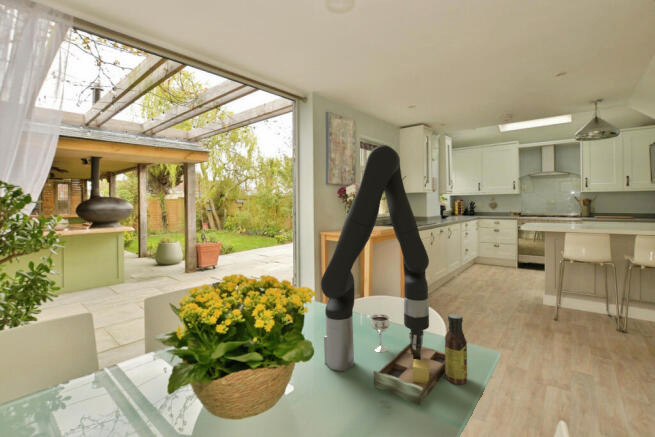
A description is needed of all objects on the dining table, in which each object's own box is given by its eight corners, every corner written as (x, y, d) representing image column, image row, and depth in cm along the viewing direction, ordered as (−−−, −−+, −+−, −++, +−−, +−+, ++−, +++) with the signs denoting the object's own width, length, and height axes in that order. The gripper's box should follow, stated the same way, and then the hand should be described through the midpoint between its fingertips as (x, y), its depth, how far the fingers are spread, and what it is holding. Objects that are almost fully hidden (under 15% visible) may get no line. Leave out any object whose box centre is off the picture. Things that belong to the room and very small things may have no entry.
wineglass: (367, 348, 114) (367, 317, 113) (379, 342, 119) (378, 312, 118) (382, 355, 109) (381, 322, 108) (393, 348, 114) (393, 317, 113)
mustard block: (412, 381, 90) (412, 366, 90) (413, 373, 94) (413, 359, 94) (428, 384, 89) (428, 369, 88) (429, 375, 93) (429, 361, 92)
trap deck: (373, 386, 92) (373, 371, 91) (412, 348, 113) (412, 336, 113) (420, 405, 82) (419, 389, 82) (452, 361, 104) (452, 348, 104)
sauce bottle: (469, 386, 90) (469, 321, 89) (447, 384, 91) (446, 320, 90) (464, 374, 96) (464, 312, 95) (443, 372, 98) (443, 311, 96)
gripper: (407, 302, 102) (407, 352, 104) (400, 317, 90) (401, 373, 91) (430, 305, 99) (431, 356, 101) (427, 320, 87) (427, 378, 89)
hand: (417, 364), depth 96 cm, fingers closed
